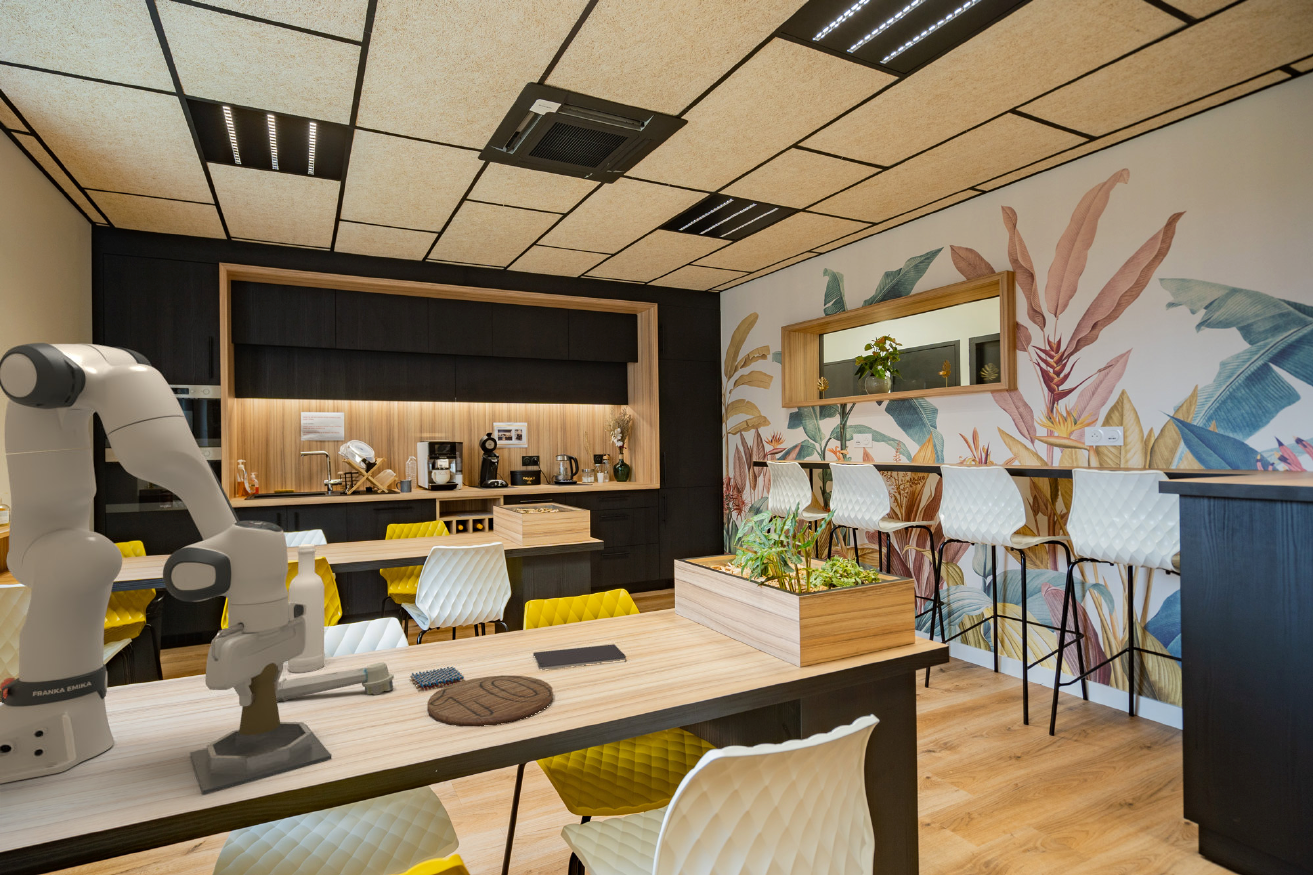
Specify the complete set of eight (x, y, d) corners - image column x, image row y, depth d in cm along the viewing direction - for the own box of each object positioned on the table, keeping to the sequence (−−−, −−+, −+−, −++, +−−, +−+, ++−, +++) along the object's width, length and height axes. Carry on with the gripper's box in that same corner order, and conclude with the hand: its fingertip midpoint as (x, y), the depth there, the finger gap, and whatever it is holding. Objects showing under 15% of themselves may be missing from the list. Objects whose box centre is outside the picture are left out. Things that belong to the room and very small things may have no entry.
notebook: (614, 650, 176) (533, 658, 169) (614, 644, 176) (533, 652, 169) (627, 663, 164) (540, 673, 157) (627, 657, 164) (539, 666, 157)
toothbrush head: (269, 679, 143) (392, 653, 149) (274, 710, 143) (396, 683, 149) (261, 687, 138) (388, 660, 143) (265, 719, 138) (392, 691, 143)
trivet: (471, 740, 120) (471, 729, 120) (404, 707, 137) (404, 697, 137) (577, 701, 138) (577, 692, 138) (507, 676, 155) (507, 668, 155)
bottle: (280, 671, 161) (280, 546, 162) (307, 661, 168) (307, 542, 169) (305, 674, 158) (305, 547, 159) (332, 664, 165) (331, 543, 166)
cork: (256, 737, 109) (255, 669, 110) (230, 732, 111) (230, 666, 112) (288, 723, 115) (288, 658, 115) (263, 718, 117) (263, 655, 117)
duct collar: (202, 794, 101) (202, 774, 101) (190, 755, 114) (190, 737, 114) (331, 758, 112) (331, 740, 112) (305, 727, 126) (305, 710, 126)
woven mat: (454, 673, 159) (454, 664, 159) (467, 685, 150) (467, 676, 150) (408, 681, 153) (408, 672, 153) (418, 694, 144) (418, 685, 144)
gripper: (231, 632, 103) (232, 723, 103) (312, 602, 123) (313, 678, 123) (193, 632, 104) (194, 722, 103) (280, 602, 124) (280, 677, 124)
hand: (259, 698), depth 113 cm, fingers closed on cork, 4 cm apart
